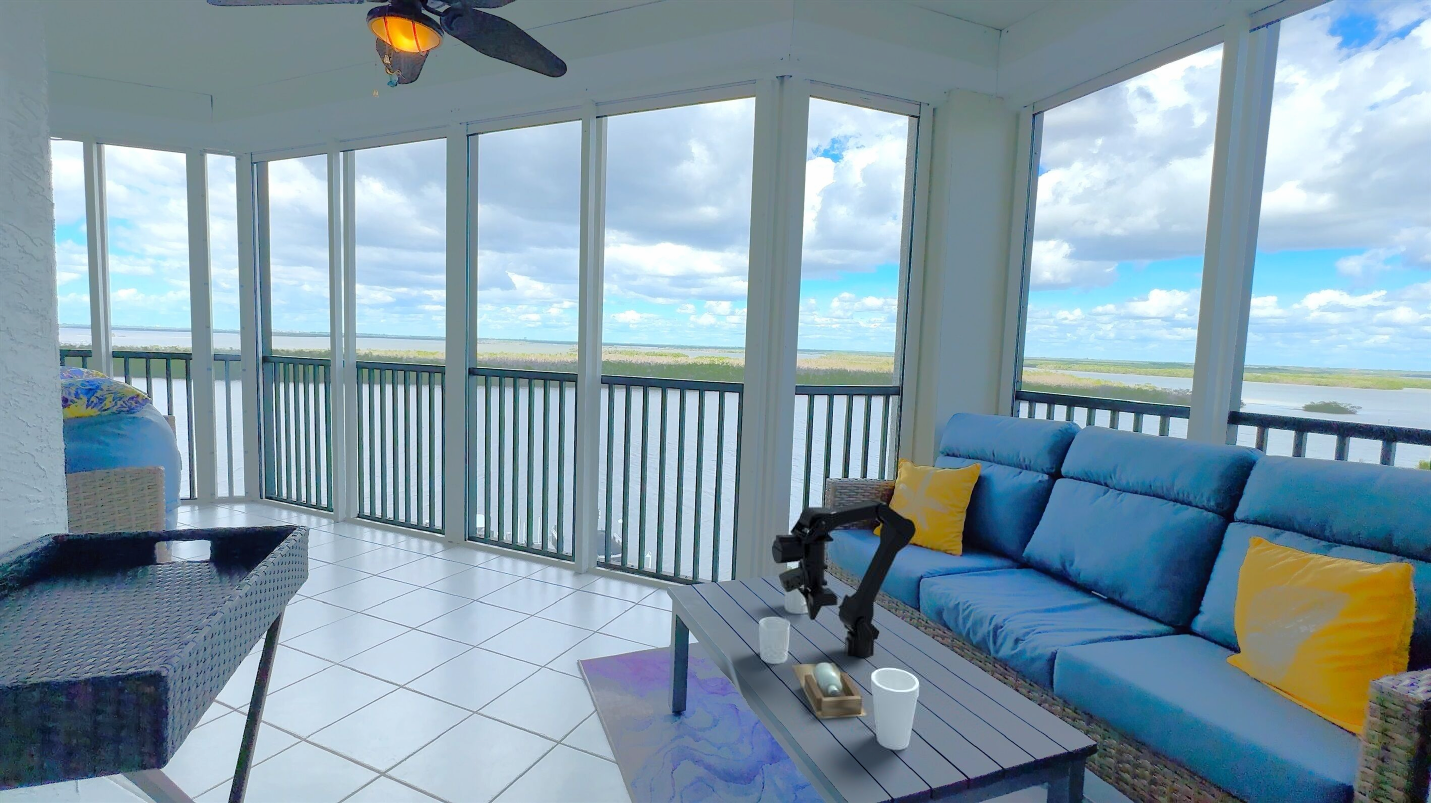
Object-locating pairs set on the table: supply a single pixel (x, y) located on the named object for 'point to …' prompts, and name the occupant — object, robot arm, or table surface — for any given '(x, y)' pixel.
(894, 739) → the foam cup
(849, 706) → the cradle board
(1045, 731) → the table surface
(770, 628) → the white cup
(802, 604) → the mug
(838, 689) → the bottle
